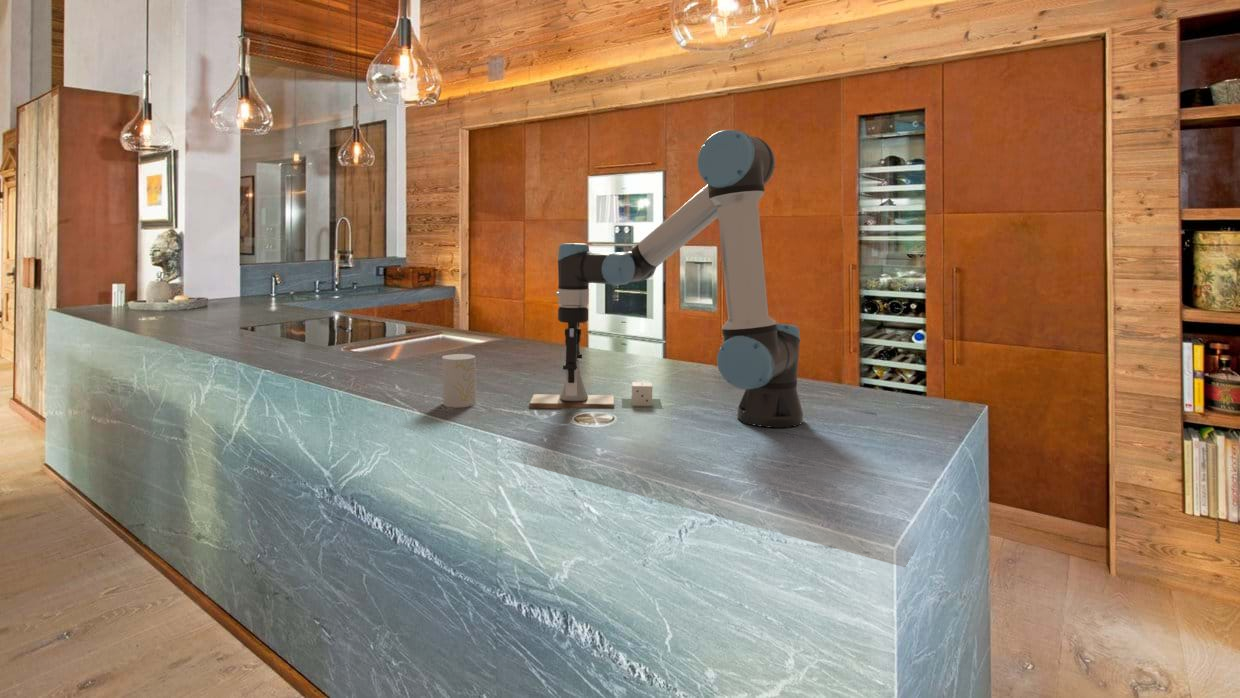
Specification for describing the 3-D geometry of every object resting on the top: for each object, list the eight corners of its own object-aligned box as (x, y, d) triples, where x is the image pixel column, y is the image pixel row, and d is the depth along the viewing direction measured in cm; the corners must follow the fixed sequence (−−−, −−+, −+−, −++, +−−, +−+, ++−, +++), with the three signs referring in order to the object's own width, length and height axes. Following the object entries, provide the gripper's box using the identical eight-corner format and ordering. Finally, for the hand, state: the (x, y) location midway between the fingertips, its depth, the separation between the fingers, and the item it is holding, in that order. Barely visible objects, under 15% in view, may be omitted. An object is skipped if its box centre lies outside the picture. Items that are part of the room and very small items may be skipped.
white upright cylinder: (457, 409, 170) (456, 360, 168) (436, 404, 175) (435, 357, 173) (483, 403, 176) (482, 356, 174) (461, 398, 181) (460, 352, 179)
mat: (659, 400, 182) (659, 398, 182) (662, 409, 173) (662, 408, 173) (621, 399, 182) (621, 398, 182) (622, 409, 172) (622, 407, 172)
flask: (587, 402, 173) (587, 363, 172) (558, 402, 173) (558, 362, 172) (589, 396, 180) (589, 358, 179) (561, 395, 181) (561, 357, 179)
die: (650, 401, 180) (651, 381, 179) (652, 405, 175) (652, 386, 174) (631, 400, 180) (631, 381, 179) (631, 405, 175) (632, 385, 174)
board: (613, 399, 182) (614, 395, 182) (614, 408, 172) (614, 404, 172) (533, 398, 182) (533, 394, 182) (529, 407, 172) (529, 403, 172)
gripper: (561, 300, 185) (561, 378, 189) (554, 311, 161) (554, 400, 164) (589, 301, 185) (589, 379, 189) (586, 311, 161) (585, 401, 164)
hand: (572, 389), depth 177 cm, fingers open, 13 cm apart
